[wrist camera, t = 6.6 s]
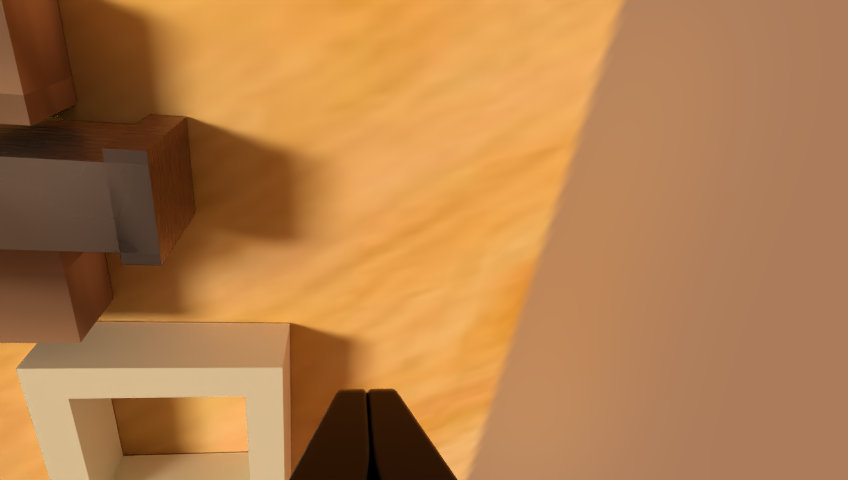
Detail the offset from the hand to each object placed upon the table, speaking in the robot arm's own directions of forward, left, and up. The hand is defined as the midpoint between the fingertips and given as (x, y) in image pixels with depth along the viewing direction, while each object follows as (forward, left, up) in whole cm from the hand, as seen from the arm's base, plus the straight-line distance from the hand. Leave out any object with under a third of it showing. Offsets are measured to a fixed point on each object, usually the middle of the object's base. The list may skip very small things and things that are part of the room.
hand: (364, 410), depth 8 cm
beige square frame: (-10, +6, -11) cm, 16 cm away
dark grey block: (0, +8, -11) cm, 13 cm away
